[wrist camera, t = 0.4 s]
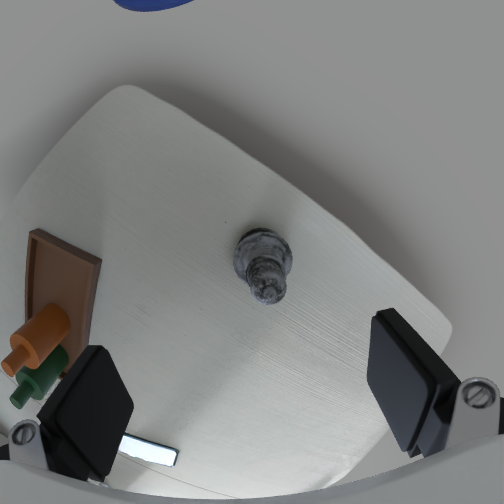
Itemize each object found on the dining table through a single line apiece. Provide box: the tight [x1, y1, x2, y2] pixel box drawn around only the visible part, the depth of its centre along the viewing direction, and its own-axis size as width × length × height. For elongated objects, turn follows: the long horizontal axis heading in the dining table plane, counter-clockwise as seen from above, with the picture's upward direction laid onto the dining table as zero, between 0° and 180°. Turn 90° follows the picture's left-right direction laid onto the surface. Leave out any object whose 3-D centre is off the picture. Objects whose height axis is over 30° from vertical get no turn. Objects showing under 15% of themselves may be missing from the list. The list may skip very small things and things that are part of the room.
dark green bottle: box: [10, 344, 69, 409], centre depth 29 cm, size 5×5×13 cm
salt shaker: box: [233, 228, 293, 305], centre depth 26 cm, size 6×6×12 cm
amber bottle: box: [1, 304, 71, 377], centre depth 27 cm, size 5×5×13 cm
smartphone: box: [118, 434, 179, 467], centre depth 42 cm, size 8×1×16 cm
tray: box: [25, 228, 102, 380], centre depth 33 cm, size 23×11×2 cm, turn 157°
